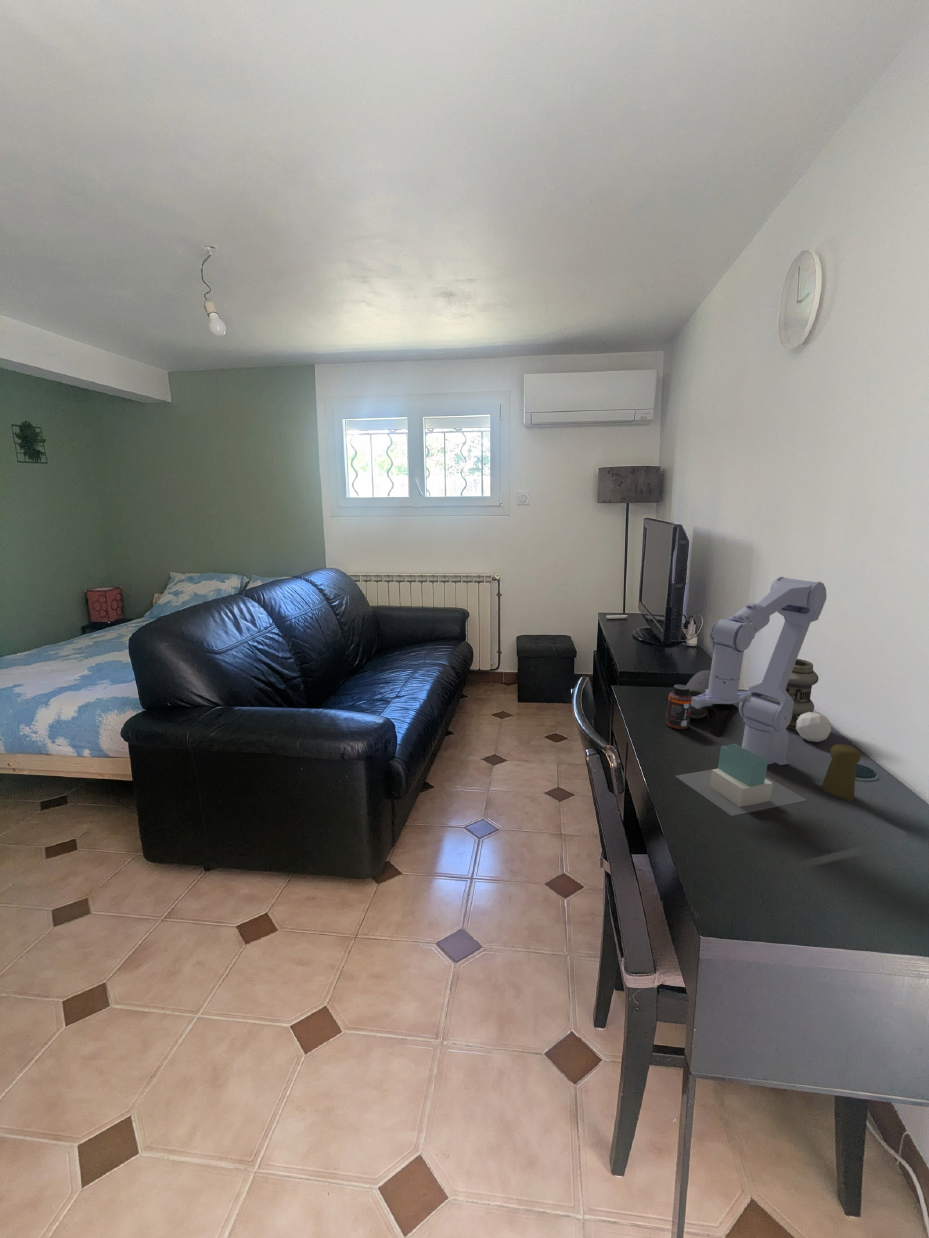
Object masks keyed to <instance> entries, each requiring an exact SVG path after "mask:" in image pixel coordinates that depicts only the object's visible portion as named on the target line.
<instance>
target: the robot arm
mask: <svg viewBox="0 0 929 1238" xmlns="http://www.w3.org/2000/svg"><path fill="white" fill-rule="evenodd" d="M827 595H828V594H827V588H826V585H825V584H824V583H823V582H822V581H811V580H810V581H809V580H803V579H797V578H788V577H784V576H778V577H777V578H776V579H775V580H774V581H772V582H771V586H770V589H769V592H768V593H767V594H766V595H765V596H764V597H763V598H762V599H761V600H760V601H759V602H757V603H755V602H752V603H750V602H748V603H747V604H746V605H744V607H743V608H741V609H740V610H739V611H737V612H736V613H734V614H733V615H732V616H731V617H729V618H727V619H725V618H722V619H720V620H716V621H715V622H714V623H713V624H712V627H711V630H710V632H709V641H710V644H711V645H710V646H711V647H710V651H711V653H712V660H711V666H710V671H711V672H710V680H709V687H708V689H706V690H705V693H703V694H701V695H698V696H695V697H692V699H691V706H693V707H695V708H697V709H698V708H701V707H704V708H705V711H706V713H707V715H706V716H707V719H708V724H709V730H710V735H712V736H714V737H715V738H722V737H723V735H724V734H725V731H726V729H727V728H728V725H729V723H730V722H731V721H732V719H733V718H734V716H735V715H736V714H737V713H738V712H739V715H740V716H741V718H742V722H743V723H745V724H744V731H743V736H742V737H743V738H742V742H741V747H742V748H744V749H746V750H748V751H750V752H752V753H754V754H756V755H758V756H760V757H762V758H764V759H766V760H768V764H767V765H771V764H774V763H776V764H778V765H780V766H784V765H788V764H789V762H788V761H787V760H786V757H787V750H788V745H789V740H790V735H789V732H788V730H787V728H786V727H787V726H788V725H789V723H790V721H791V718H792V710H793V706H794V701H793V699H792V698H791V697H790V695H789V694H788V693H787V691H786V690H785V689H786V686H787V683H788V681H789V678H790V675H791V673H792V670H793V668H794V665H795V662H796V660H797V659H798V657H799V654H800V651H801V649H802V645H803V643H804V642H805V639H806V636H807V633H808V631H809V627H810V625H811V623H813V622H816V621H818V620H819V617H820V616H821V614H822V611H823V608H824V606H825V603H826V601H827V598H828V597H827ZM775 613H778V614H779V615H781V616H782V617H783V619H784V623H783V626H782V628H781V631H780V633H779V636H778V638H777V641H776V644H775V646H774V649H773V652H772V653H771V657H770V659H769V663H768V665H767V667H766V669H765V670H766V671H765V673H764V674H763V678H762V680H761V682H759V683H757V684H753V685H751V686H749V687H747V690H746V691H745V690H742V691H739V685H740V681H741V680H740V679H741V674H742V668H743V667H742V666H743V659H744V653H745V651H746V650H748V648H749V647H750V645H752V641H753V639H755V637H756V634H757V633H759V631H761V630H762V629H763V628H765V627H766V626H768V624H769V623H770V620H771V618H770V617H771V616H772V615H773V614H775ZM765 697H769V698H772V699H776V700H779V702H780V703H779V702H776V701H773V700H770V699H767V698H765ZM737 703H739V705H738V706H736V705H734V704H737Z"/></svg>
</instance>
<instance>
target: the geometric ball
mask: <svg viewBox="0 0 929 1238" xmlns="http://www.w3.org/2000/svg"><path fill="white" fill-rule="evenodd" d="M831 729H832V723H831V722H830V720H829V719H828V717H827V716H825V715H824V714H822V713H820V712H818V711H813V712H807V713H804V714H801V715H800V716H798V720H797V723H796V729H795V730H796V731H797V732H798V734H799V736H800V737H801V738H803V739H805V740H806V741H808V742H812V743H814V742H815V743H820V742H823V741H824V740H827V739H828V737H829V735H830V734H831V731H832V730H831Z"/></svg>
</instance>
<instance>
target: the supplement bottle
mask: <svg viewBox="0 0 929 1238" xmlns="http://www.w3.org/2000/svg"><path fill="white" fill-rule="evenodd" d="M689 689H690V688H689V687H688V686H686V685H685V684H674V686H673V691H671V692H670V693H669V694H668V698H667V699H668V700H667V709H666V714H665V715H666V717H665V725H666V726H667V727H670V728H672V729H675V730H686V729H688V728H689V725H690V719H691V717H690V712H691V699H692V697H691V695H690V694H689Z"/></svg>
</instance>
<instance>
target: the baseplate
mask: <svg viewBox="0 0 929 1238" xmlns="http://www.w3.org/2000/svg"><path fill="white" fill-rule="evenodd" d="M713 769H714V768H713ZM713 769H707V770H702V771H695V772H690V773H684V774H677V775H675V777H676V778H677V779H679V780H680V781H681V782H683V783H684V784H685V785H687V786H688V787H689V788H691V789H693V790H694V791H695V792H697V793H698V794H699V795H702V797H704V798H705V799H707V800H708V801H710V802H711V803H713V804H714V805H716V806H717V807H718V808H719V809H721V810H722V811H724V812H725V813H727V814H728V815H729V816H731V817H733V816H734V817H735V816H738V815H745V814H748V813H749V814H750V813H753V812H758V811H763V810H767V809H772V808H778V807H782V806H783V807H784V806H787V805H792V804H797V803H802V802H806V801H808V799H806V798H805V797H803V796H801V795H799V794H798V793H796V792H794V791H792V790H791V789H789V788H788V787H786V786H784V785H782V784H780V783H778V782H777V781H775V780H773V779H771V778H770V777H768V776H765V779H767V780H768V781H770V782H772V783H773V786H772V792H771V798H770V801H767V802H762V803H757V804H752V805H747V806H742V807H739V806H737V805H736V804H734V803H733V802H731V801H730V800H728V799H727V798H725V797H724V796H722V795H721V794H719V793H718V792H716V791H715V790H713V789H712V788H711V787H710V780H711V774H712V770H713Z"/></svg>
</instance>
